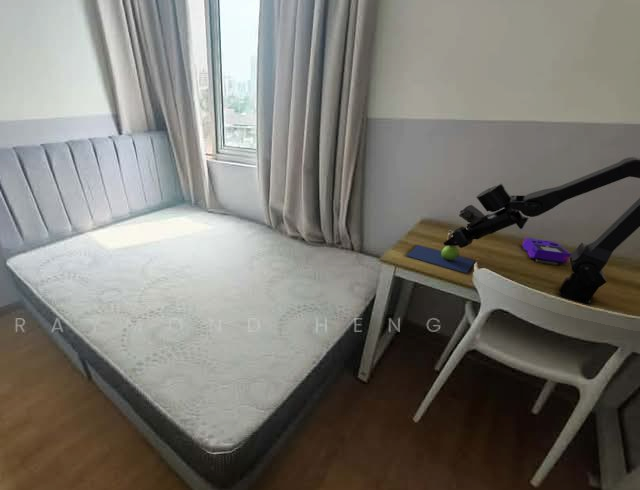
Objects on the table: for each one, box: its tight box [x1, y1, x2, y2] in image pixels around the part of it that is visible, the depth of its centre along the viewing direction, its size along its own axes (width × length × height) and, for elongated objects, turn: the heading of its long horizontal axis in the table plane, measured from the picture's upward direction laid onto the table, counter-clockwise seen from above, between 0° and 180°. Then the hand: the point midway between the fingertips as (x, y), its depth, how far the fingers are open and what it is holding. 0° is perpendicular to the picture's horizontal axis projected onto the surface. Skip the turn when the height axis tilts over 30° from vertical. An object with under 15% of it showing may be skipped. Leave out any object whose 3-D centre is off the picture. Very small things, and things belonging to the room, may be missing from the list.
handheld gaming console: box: [522, 237, 571, 266], centre depth 115 cm, size 9×5×15 cm
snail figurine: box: [441, 229, 460, 260], centre depth 111 cm, size 5×6×12 cm
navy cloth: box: [406, 245, 476, 275], centre depth 116 cm, size 20×12×1 cm, turn 46°
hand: (448, 242), depth 112 cm, fingers closed on snail figurine, 5 cm apart
